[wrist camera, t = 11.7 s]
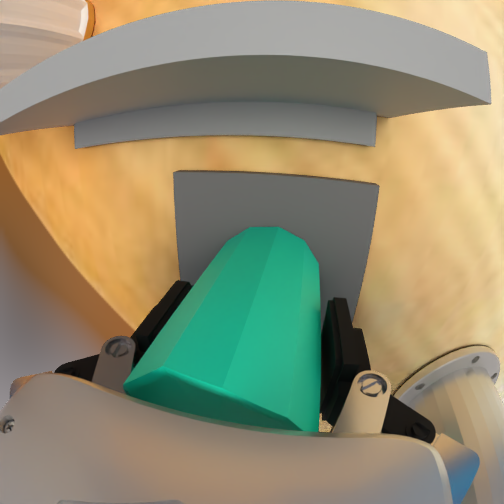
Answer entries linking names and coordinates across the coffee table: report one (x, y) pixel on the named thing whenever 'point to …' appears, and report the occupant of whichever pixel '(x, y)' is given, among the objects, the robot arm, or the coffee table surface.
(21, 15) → the cup
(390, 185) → the coffee table surface
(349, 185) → the mat
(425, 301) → the coffee table surface
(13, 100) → the board
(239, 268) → the candle
